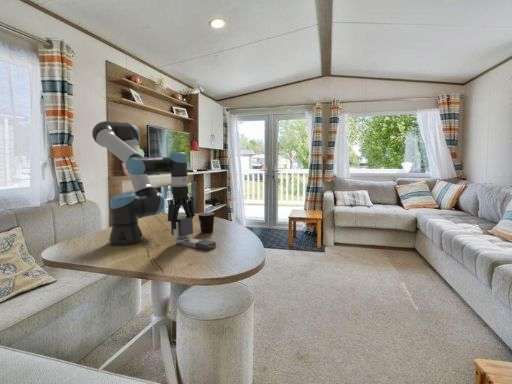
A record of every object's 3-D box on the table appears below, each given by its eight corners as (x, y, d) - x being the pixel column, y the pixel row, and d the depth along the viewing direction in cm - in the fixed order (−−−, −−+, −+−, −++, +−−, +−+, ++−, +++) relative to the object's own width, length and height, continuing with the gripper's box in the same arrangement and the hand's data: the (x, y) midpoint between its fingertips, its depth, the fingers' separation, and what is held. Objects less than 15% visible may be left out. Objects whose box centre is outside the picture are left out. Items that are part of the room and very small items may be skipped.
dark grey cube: (171, 234, 136) (170, 218, 135) (183, 231, 142) (182, 215, 141) (181, 236, 132) (180, 219, 131) (193, 233, 138) (192, 217, 137)
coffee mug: (213, 233, 152) (212, 215, 151) (197, 234, 152) (196, 215, 151) (217, 228, 164) (216, 211, 163) (202, 228, 164) (201, 211, 163)
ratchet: (173, 243, 137) (173, 232, 136) (183, 240, 142) (182, 229, 141) (206, 250, 124) (206, 238, 124) (216, 247, 129) (215, 235, 129)
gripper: (167, 188, 124) (170, 239, 126) (201, 184, 140) (203, 230, 143) (156, 187, 128) (160, 237, 131) (190, 183, 144) (192, 228, 147)
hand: (182, 233), depth 137 cm, fingers closed on dark grey cube, 7 cm apart
